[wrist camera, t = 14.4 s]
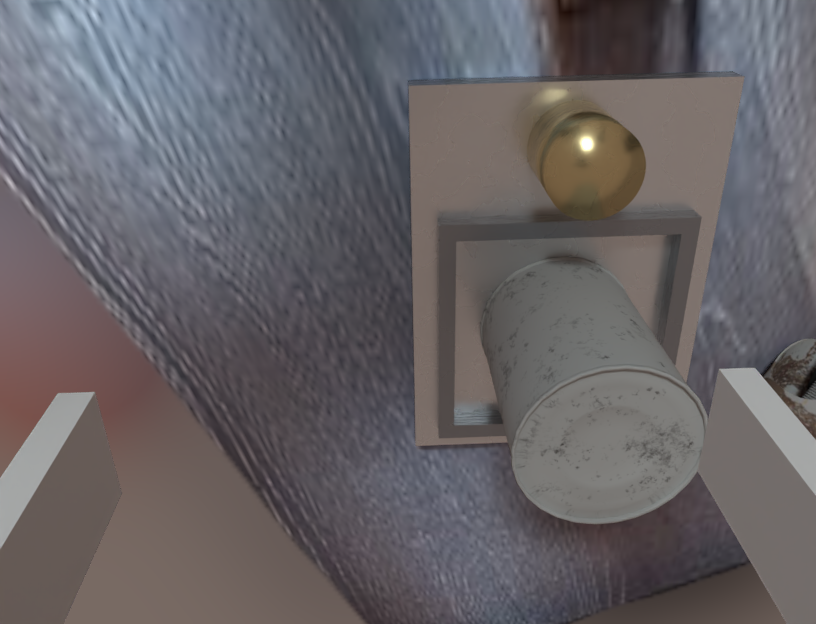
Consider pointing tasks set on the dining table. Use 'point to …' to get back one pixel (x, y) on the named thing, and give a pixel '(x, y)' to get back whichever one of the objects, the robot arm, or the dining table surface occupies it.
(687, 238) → the carrier plate
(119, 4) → the dining table surface
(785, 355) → the caster wheel
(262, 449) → the dining table surface
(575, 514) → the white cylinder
